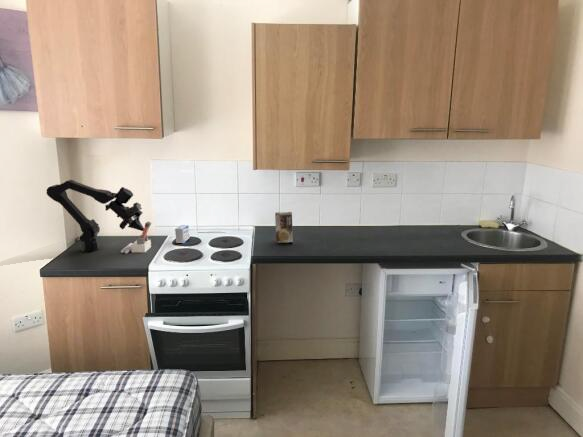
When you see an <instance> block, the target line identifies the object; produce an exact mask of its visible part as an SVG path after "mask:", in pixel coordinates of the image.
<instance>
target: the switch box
mask: <svg viewBox="0 0 583 437" xmlns="http://www.w3.org/2000/svg"><path fill="white" fill-rule="evenodd" d="M141 236H142V234H141V235H139V237H137V238H136V240H135V241H134V242H132V243H133V244H131V253H146V252H147V251H149V249H151V248H152V241H151V239H149V235H148V234H147V235H146V238H145V239H144V238H141Z"/></svg>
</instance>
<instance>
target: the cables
mask: <svg viewBox="0 0 583 437" xmlns="http://www.w3.org/2000/svg"><path fill="white" fill-rule="evenodd" d="M133 243H134V242H130V243H128V245H126V246H125V247H124V248H122V249H121V250H120V253H121V254H123V253H124V254H126V255H127V254H128V253H129V252H132V250H131V244H133Z"/></svg>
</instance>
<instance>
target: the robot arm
mask: <svg viewBox="0 0 583 437" xmlns="http://www.w3.org/2000/svg"><path fill="white" fill-rule="evenodd" d="M67 190H72V191H74V192H77V193H80V194H83V195H85V196H89V197H91V198H92V199H94V200H95V201H97V202H98V203H100V204H103V205H104V206H105V211H108V210H111V211H112V212H114V214H116V218H120V219H121V220H122V221H121V222H120V223H119V228H120V229H121V230H124V229H125V228H126V226H127V225H128V226H127V228H130V229H135V230H137V231H141V232H143V230H144V227H145V226H143V224H142V223H141V221H140V217H141V215H143V211H141V210H142V207H141V206H142V205H141V204H140V203H139V202H137V201H136V202H135V203H132V204H133V206H126V205H124V204H127V203H128V202H129V201H130V200H131V199H132V197H133V196H134V192H132V191H131V189H128V188H126V187H124V186H121V187H120V188H119V190H118V191H117V192H112V191H110V190H107V189H99V188H95V187H92V186H89V185H87V184H84V183H80V182H78V181H75V180H73V179H69V180H66V181H64V182H62V183H60V184H57V183H56V184H53V185H51V186H49V187H47V189H46V192H45V193H46V195H47V196H48V197H49V198H50V199H51V200H53V202H56V203H58V204H60V205H61V207H63V209H64V210H66V212H67V213H68V214H69V216H71V217H72V218H73V220H74V221H75V222H76V223H77V224H78V225H79V228H80V231H81V232H82V234H81V235H80V236H79V240H80V242H81V243H82V247H83V248H82V249H81V250H80V251H81V252H84V253H93V252H95V251H98V250H100V247H98V242H97V239H96V237H97V236H98V234H99V233H100V231H101V230H100V228H101V227H100V226H99V223H97V222H96V220H95V219H93V218H92V219H91V220H90V219H88V218H87V217H86V216H85V215H84V213H83V212H82V211H81V210H80V209H79V208H78V207H77V206H76V205H75V203H73V201H72V200H71V199H70V198H69V196H68V194H67ZM107 203H108V204H107Z"/></svg>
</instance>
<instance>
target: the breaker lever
mask: <svg viewBox="0 0 583 437" xmlns="http://www.w3.org/2000/svg"><path fill="white" fill-rule="evenodd" d="M151 225H152V222H150V221H146V222H145V223H144V226H143V227H144V230H143V231H142V233H141V235H142V236H141V238H144V239H145V238H146V235H148V232H149V229H150V227H151Z"/></svg>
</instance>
